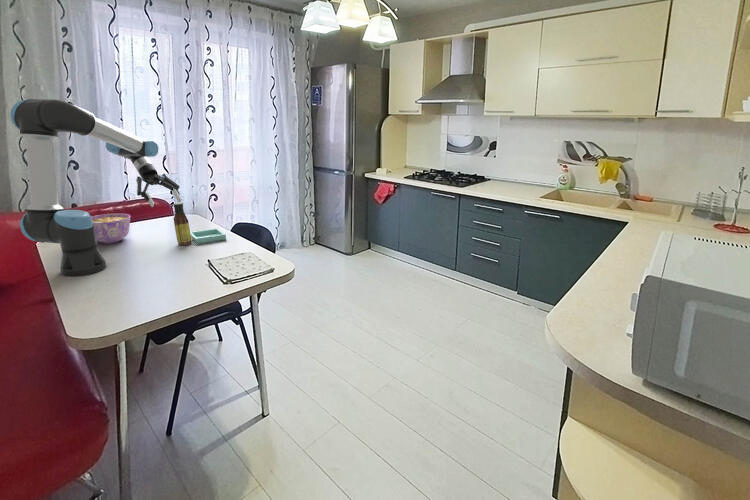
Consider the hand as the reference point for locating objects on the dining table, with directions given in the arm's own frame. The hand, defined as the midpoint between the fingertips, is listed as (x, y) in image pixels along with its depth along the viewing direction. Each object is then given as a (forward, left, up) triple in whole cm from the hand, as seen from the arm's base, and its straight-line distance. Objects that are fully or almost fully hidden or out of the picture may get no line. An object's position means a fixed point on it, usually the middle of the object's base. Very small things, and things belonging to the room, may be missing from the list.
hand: (167, 203), depth 203 cm
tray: (-7, -15, -19) cm, 25 cm away
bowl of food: (+15, +25, -19) cm, 35 cm away
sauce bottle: (-10, -4, -19) cm, 22 cm away
